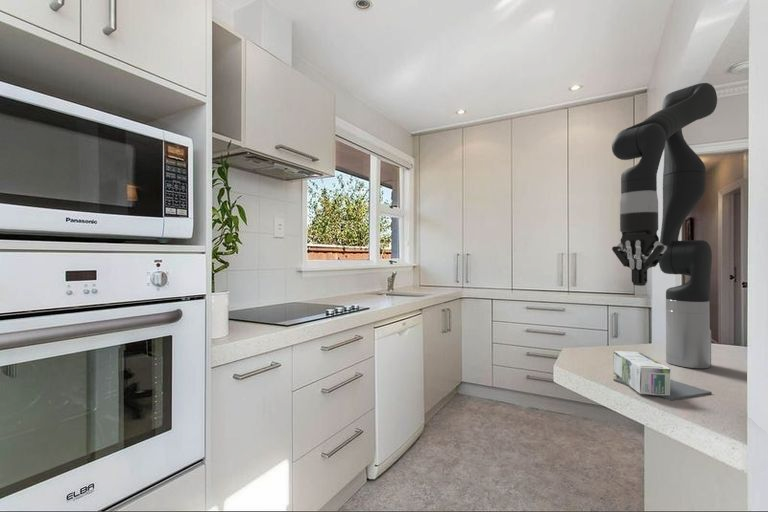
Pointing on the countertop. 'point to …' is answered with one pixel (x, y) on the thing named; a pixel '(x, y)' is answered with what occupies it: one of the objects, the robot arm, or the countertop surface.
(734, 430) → the countertop surface
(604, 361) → the countertop surface
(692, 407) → the countertop surface
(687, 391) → the mat
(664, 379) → the syrup box
